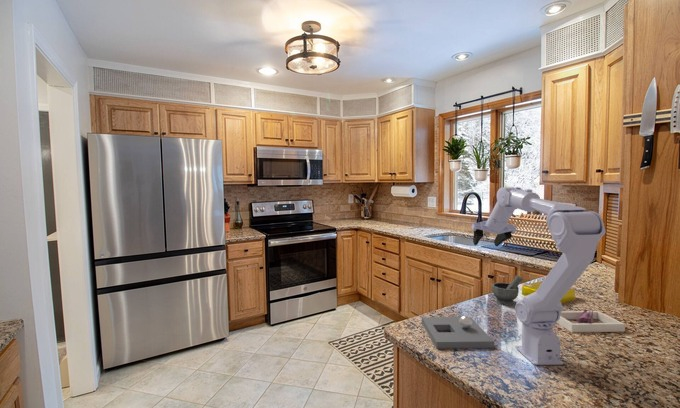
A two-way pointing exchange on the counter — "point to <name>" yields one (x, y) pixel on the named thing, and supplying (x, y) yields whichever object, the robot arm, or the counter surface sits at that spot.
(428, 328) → the hole board
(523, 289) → the element tile
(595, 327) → the vegetable tray
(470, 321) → the steel ball
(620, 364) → the counter surface
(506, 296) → the mortar and pestle
